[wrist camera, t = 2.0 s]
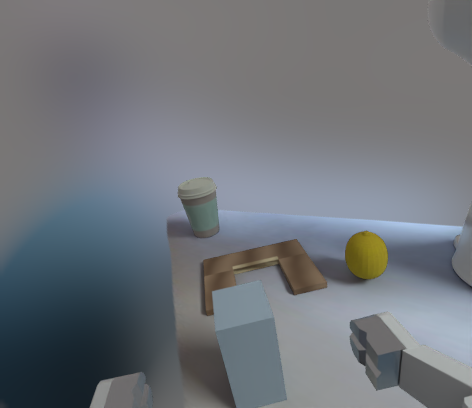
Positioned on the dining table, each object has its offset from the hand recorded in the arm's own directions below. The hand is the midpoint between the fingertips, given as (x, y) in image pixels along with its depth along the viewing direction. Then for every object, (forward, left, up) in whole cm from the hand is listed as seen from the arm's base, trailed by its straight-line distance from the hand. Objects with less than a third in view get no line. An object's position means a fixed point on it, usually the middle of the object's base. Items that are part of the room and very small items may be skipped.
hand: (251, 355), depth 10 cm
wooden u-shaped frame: (-4, -30, -19) cm, 36 cm away
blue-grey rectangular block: (0, -12, -19) cm, 23 cm away
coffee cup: (+4, -49, -20) cm, 53 cm away
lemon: (-19, -23, -20) cm, 36 cm away
